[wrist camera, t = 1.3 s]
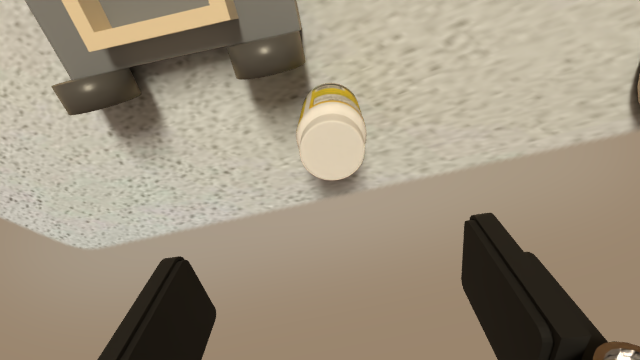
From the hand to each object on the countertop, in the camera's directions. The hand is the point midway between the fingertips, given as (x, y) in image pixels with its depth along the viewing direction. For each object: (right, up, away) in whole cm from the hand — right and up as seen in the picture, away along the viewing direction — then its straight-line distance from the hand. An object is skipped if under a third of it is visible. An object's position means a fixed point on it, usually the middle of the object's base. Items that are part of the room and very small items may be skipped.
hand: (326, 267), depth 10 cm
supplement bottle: (+1, +9, +15) cm, 18 cm away
